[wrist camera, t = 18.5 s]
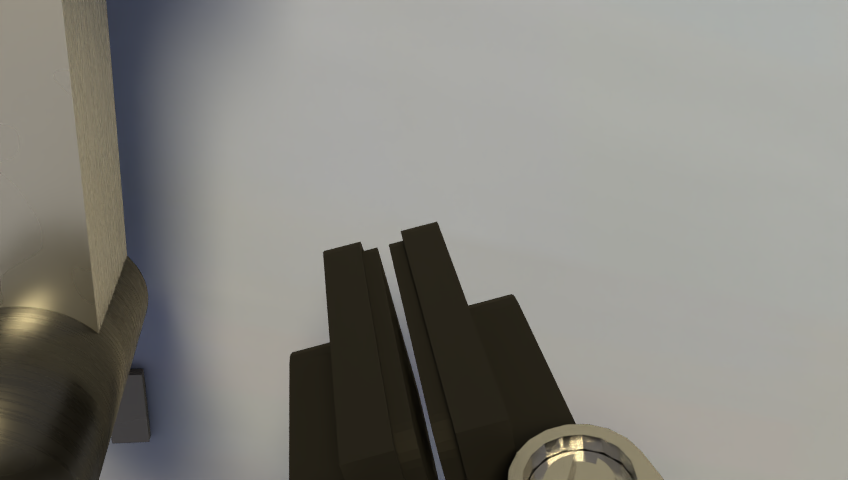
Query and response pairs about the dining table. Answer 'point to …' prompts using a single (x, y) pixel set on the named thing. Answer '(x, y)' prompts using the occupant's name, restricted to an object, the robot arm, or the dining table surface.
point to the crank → (61, 243)
